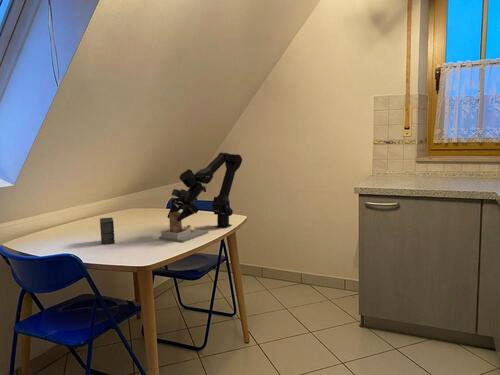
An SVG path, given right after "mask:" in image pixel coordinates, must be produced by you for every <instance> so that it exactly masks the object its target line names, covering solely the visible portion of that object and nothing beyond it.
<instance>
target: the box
mask: <svg viewBox="0 0 500 375" xmlns="http://www.w3.org/2000/svg"><path fill="white" fill-rule="evenodd" d="M113 219H114V218H113V217H112V216H111V217H102V218H101V217H100V218H99V227H100V228H99V229H100V241H101V246H102V245H103V246H104V245H113V244H115V243H116V242H115V241H116V240H115V226H114V220H113Z"/></svg>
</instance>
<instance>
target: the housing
mask: <svg viewBox="0 0 500 375" xmlns="http://www.w3.org/2000/svg"><path fill="white" fill-rule="evenodd" d="M160 233H161V234H160V236H159V237H158V239H159V240H165V241H170V242H171V241H172V242H177V243H185V242H187V241H190V240H193V239H196V238H198V237H201V236H203V235H204V236H205V235H206V234H209V230H206V229H204V230H203V229H198V228H195V226H192V225H191V224H187V226H183V228H182V232H180V233H171V232H170V228H168V229H166V230H162V231H160Z"/></svg>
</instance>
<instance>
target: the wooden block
mask: <svg viewBox="0 0 500 375" xmlns="http://www.w3.org/2000/svg"><path fill="white" fill-rule="evenodd" d="M168 214H169V218H168V219H169V229H170V232H171V233H180V232H182V227H183V225H182V223H183V222H182V220H181V221H177V219H178V217H179V215H180V214H181V211H178V212H170V213H169V212H168Z"/></svg>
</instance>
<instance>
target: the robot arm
mask: <svg viewBox="0 0 500 375" xmlns="http://www.w3.org/2000/svg"><path fill="white" fill-rule="evenodd" d="M242 162H243V157H242V156H241V155H240V154H239V153H238V154H236V153H235V154H233V153H228V152H219V153H218V155H217V156H216V157H215V158H214V159H213V160H212V161H211V162H210V163H209V164H208V165H207V166H206V167H204V168H201V169H199V170H197V171H196V172H195V173H194V172H193V170H191V169H186V170H185V171H183V172H182V173H180V175H179V177H178V178H179V180H180V182H182V184H183V185H184V186H186V188H188V189H184V188H181V189H177V188H173V190H172V192H171V196H173V197H171V198H169V200H168V201H169V205H170V209H169V211H168V214H167V219H169V213H170V212H180V213H181V214H180V215H179V217H178V219H177V221H181V222H182V221H183V220H184V219H186V218H188V217H191V216H192V215H194V214H197V213H198V212H199V207H198V206H197V204H196V203H195V202H197V201H198V197H199V195H200V194H201V193H202V192H203V193H206V192H207V189H206V186H205V185H208V184H210V183H211V181H212V179H213V178H214V175H215V173H216V172H217V171H218V170H219V169H220V167H221V166H223V165H225V169H226V170H225V173H224V176H223V180H222V183H221V186H220V190H219V193H218V195H217V196H214V197H213V201H212V202H211V205H212V206H211V208H212V211H213V214H214V215H216V216H217V217H216V218H217V219H216V222H217V223H216V224H217V225H215V226H214V227H216V228H222V229H223V228H224V229H226V228H229V227H231V226H232V223H231V224H230V217H231V216H232V215H233V213H234V210H233V209H232V208H231V207H230V206H231V205H230V204H231V201H230V199H229V196H230V192H231V189H232V185H233V181H234V178H235V175H236V172H237V171H238V170H239V169H240V167H241V165H242ZM221 168H222V167H221ZM204 184H205V185H204Z"/></svg>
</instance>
